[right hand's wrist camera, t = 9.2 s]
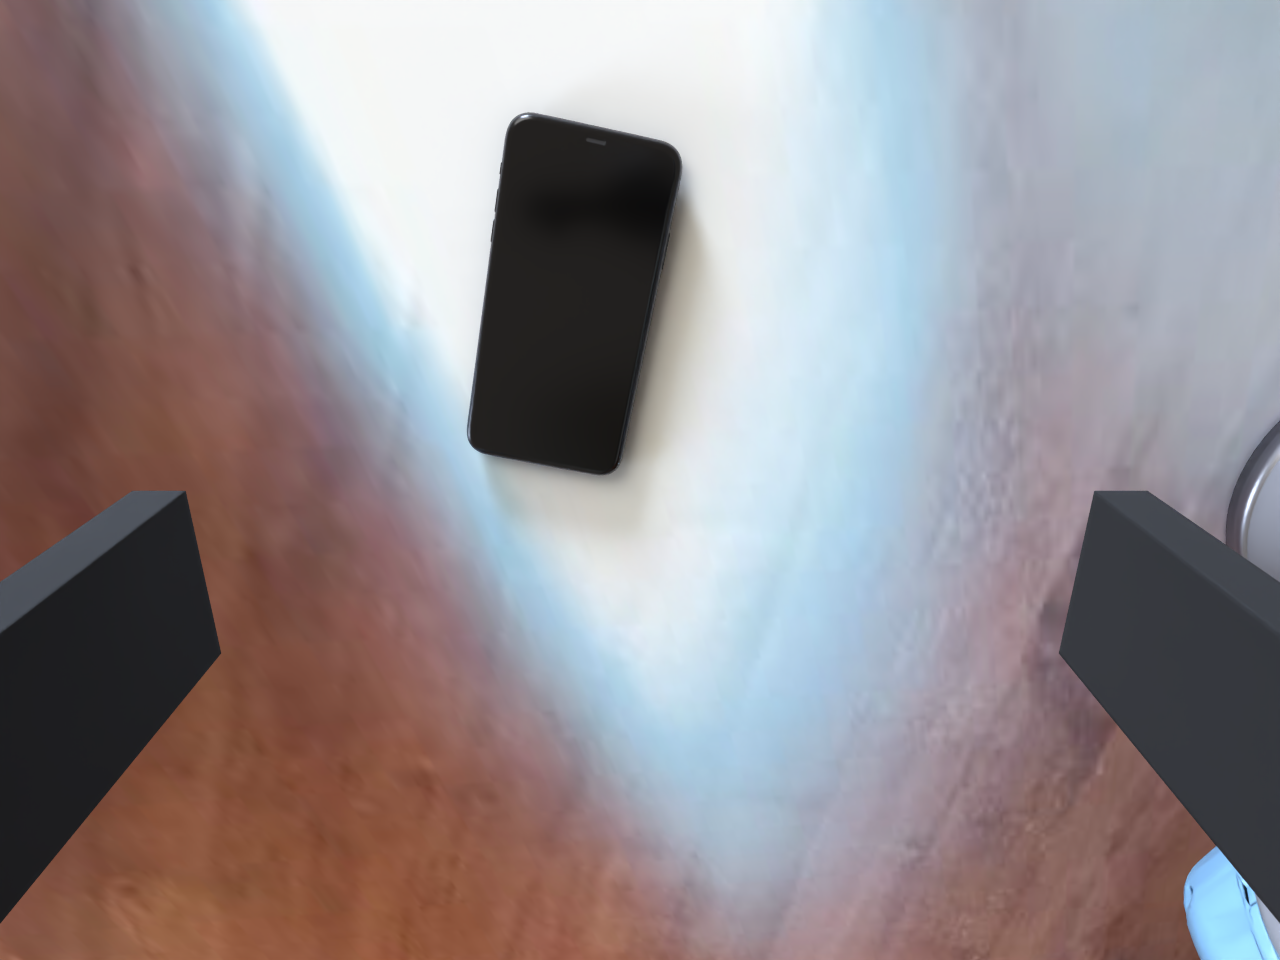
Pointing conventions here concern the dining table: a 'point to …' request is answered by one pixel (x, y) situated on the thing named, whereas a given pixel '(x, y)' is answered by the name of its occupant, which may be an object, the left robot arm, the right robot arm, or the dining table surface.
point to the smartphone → (570, 291)
